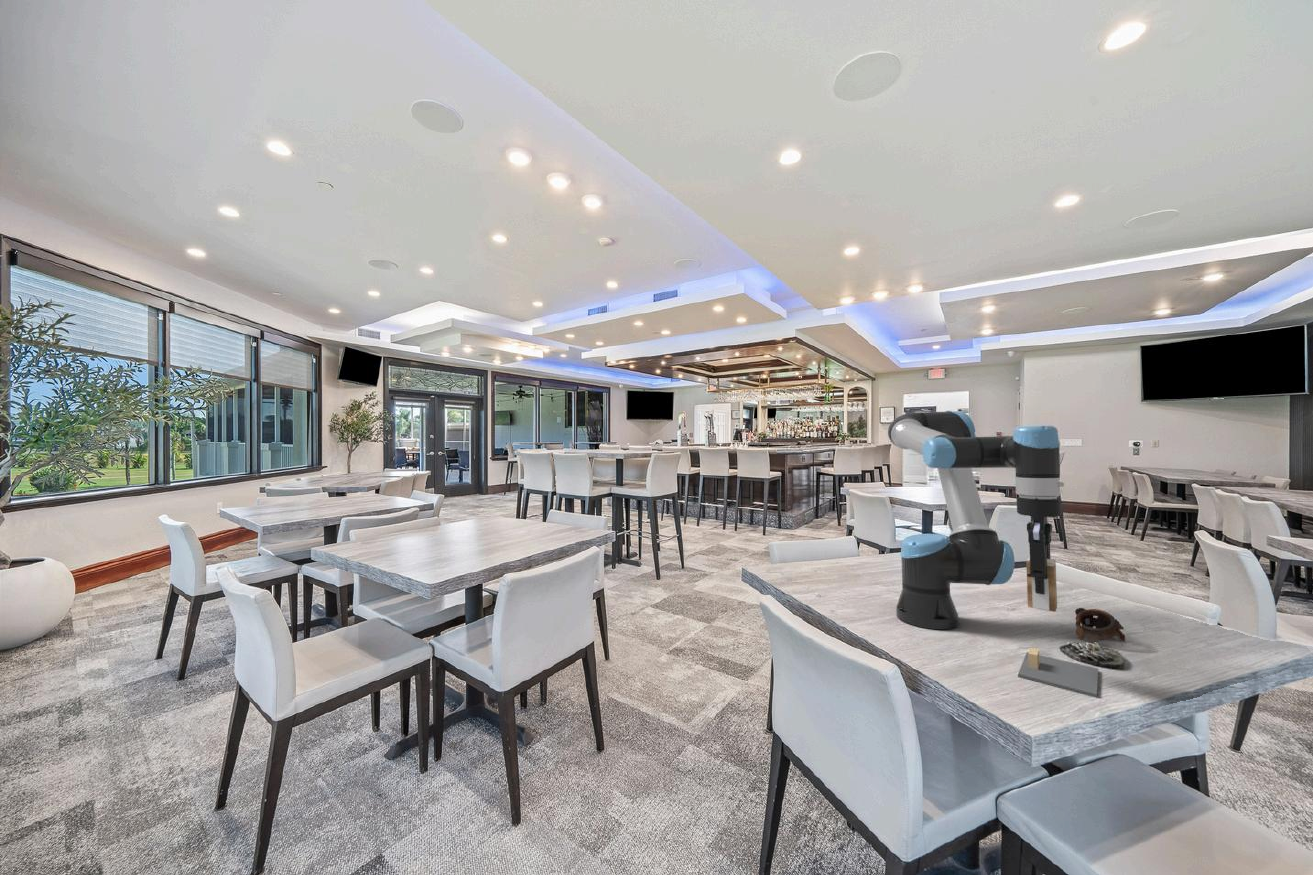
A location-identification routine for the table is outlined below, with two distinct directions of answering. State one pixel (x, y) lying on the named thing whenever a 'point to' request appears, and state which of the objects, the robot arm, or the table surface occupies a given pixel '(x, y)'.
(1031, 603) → the teak block
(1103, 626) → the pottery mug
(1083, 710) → the table surface
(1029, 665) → the board
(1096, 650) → the oyster shell
